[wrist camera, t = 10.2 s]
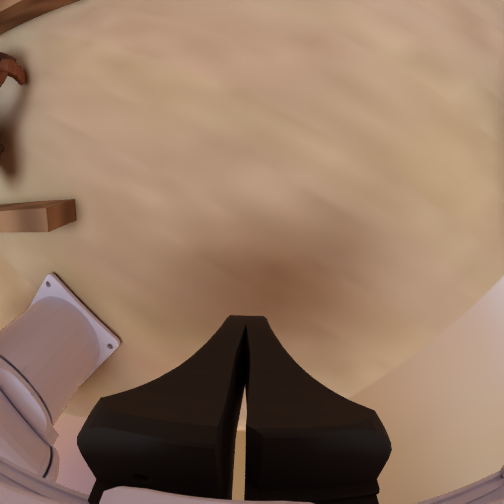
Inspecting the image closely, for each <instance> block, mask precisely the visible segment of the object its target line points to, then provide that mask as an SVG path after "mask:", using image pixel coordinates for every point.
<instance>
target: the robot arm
mask: <svg viewBox="0 0 504 504" xmlns="http://www.w3.org/2000/svg"><path fill="white" fill-rule="evenodd" d="M48 282H49V283H50V285H49V283H48ZM110 344H111V345H112V346H113V347H112V346H110ZM119 345H120V340H119V339H118V337H116V336H115V335H114V334H113V333H112V332H111V331H110V330H109V329H108V328H107V327H106V326H105V325H104V324H102V323H101V322H100V321H99V320H98V319H97V318H96V317H95V316H94V315H93V314H92V313H91V312H90V311H89V310H88V309H87V308H86V307H85V306H84V305H83V304H82V303H81V302H80V301H79V300H78V299H77V298H76V297H75V296H74V295H73V294H72V293H71V291H70V290H69V289H68V288H67V287H66V286H65V285H64V284H63V283H62V282H61V281H60V280H59V279H58V277H57V276H56V275H55V274H54V273H50V274H48V275H47V276H46V278H45V280H44V281H43V283H42V285H41V286H40V288H39V290H38V292H37V293H36V295H35V297H34V299H33V301H32V302H31V304H30V306H29V308H28V309H27V310H26V311H24V312H23V313H22V314H21V315H19V316H18V317H17V318H16V319H14V320H13V321H12V322H11V323H9V324H8V325H7V326H6V327H5V328H3V329H2V330H1V331H0V504H379V503H378V499H377V496H376V494H378V493H379V485H378V482H377V478H378V476H379V474H380V473H381V471H382V469H383V467H384V466H385V464H386V462H387V461H388V459H389V456H390V453H391V451H392V449H391V442H390V440H389V437H388V434H387V432H386V430H385V428H384V426H383V424H382V422H381V421H380V419H379V417H378V415H377V414H376V412H375V411H374V410H372V409H369V408H367V407H364V406H362V405H359V404H357V403H355V402H352V401H350V400H348V399H346V398H344V397H342V396H340V395H339V394H337V393H335V392H333V391H332V390H330V389H328V388H327V387H325V386H324V385H322V384H321V383H319V382H318V381H317V380H315V379H314V378H313V377H311V376H310V375H309V374H308V373H306V372H305V371H304V370H303V369H302V368H301V367H300V366H299V365H298V364H297V363H296V362H295V361H294V360H293V358H292V357H291V356H290V355H289V354H288V353H287V351H286V350H285V349H284V347H283V346H282V345H281V343H280V342H279V340H278V339H277V337H276V336H275V334H274V333H273V331H272V329H271V327H270V325H269V323H268V321H267V319H266V318H265V317H264V316H237V315H230V316H229V317H228V318H227V319H226V320H225V322H224V323H223V324H222V326H221V327H220V328H219V329H218V331H217V332H216V333H215V334H214V335H213V336H212V337H211V338H210V340H209V341H208V342H207V343H206V344H205V345H204V346H203V347H202V348H200V349H199V350H198V351H197V352H196V353H195V354H194V355H193V356H192V357H190V358H189V359H188V360H187V361H185V362H184V363H183V364H181V365H180V366H178V367H177V368H175V369H173V370H172V371H170V372H168V373H166V374H164V375H163V376H161V377H159V378H157V379H155V380H153V381H151V382H149V383H146V384H144V385H142V386H139V387H136V388H134V389H131V390H128V391H125V392H121V393H118V394H114V395H111V396H107V397H103V398H100V400H99V401H98V403H97V404H96V405H95V407H94V408H93V409H92V411H91V413H90V415H89V416H88V418H87V420H86V422H85V423H84V425H83V427H82V429H81V431H80V432H79V434H78V436H77V445H78V447H79V450H80V452H81V454H82V456H83V458H84V459H85V461H86V463H87V464H88V466H89V468H90V469H91V471H92V472H93V474H94V476H95V477H96V482H95V484H94V486H93V489H92V492H91V493H90V496H89V495H86V494H83V493H80V492H78V491H75V490H72V489H70V488H67V487H64V486H62V485H60V484H57V483H55V482H56V479H57V476H58V472H59V454H58V452H57V450H56V449H55V448H54V447H53V444H54V442H55V441H56V439H57V437H58V436H59V435H58V433H57V432H56V431H55V429H54V428H53V426H54V424H55V422H56V421H57V419H58V418H59V416H60V415H61V413H62V412H63V410H64V409H65V407H66V406H67V404H68V403H69V401H70V400H71V398H72V397H73V395H74V394H75V392H76V391H77V389H78V388H79V387H80V386H81V385H82V384H83V383H84V382H85V381H86V379H87V378H88V377H89V376H90V375H91V374H92V373H93V372H94V371H95V370H96V369H97V368H98V367H99V366H100V365H101V364H102V363H103V362H104V361H105V360H106V359H107V358H108V357H109V356H110V355H111V354H112V353H113V352H114V351H115V350H116V349H117V348H118V347H119ZM244 387H245V388H246V403H247V420H246V462H245V463H246V464H245V495H244V496H245V497H244V501H240V500H232V485H233V469H234V454H235V439H236V432H237V426H238V420H239V415H240V410H241V404H242V399H243V393H244ZM415 504H504V465H503V467H502V468H501V470H500V471H498V472H497V473H494V474H492V475H490V476H488V477H486V478H484V479H481V480H479V481H477V482H474V483H472V484H470V485H467V486H465V487H462V488H460V489H457V490H454V491H452V492H449V493H447V494H444V495H441V496H437V497H435V498H432V499H428V500H425V501H422V502H419V503H415Z"/></svg>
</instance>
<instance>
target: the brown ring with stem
mask: <svg viewBox="0 0 504 504" xmlns="http://www.w3.org/2000/svg"><path fill="white" fill-rule="evenodd" d="M7 76H10V77H12V78H14V79H15V80H16V81H17V82H18V83H19V84H20V85H23V84H25V73H24V71H23V70H22V68H21V66H19V65H18V63H17V61H16V59H15V58H13V57H11V56H9V55H7V54H5V53H1V52H0V87H1V86H2V84H3V83H4V81H5V79H6V77H7ZM3 150H4V146H3V145H2V144H0V156H1V154H2V152H3Z"/></svg>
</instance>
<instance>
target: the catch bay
mask: <svg viewBox="0 0 504 504" xmlns="http://www.w3.org/2000/svg"><path fill="white" fill-rule="evenodd" d="M75 1H78V0H0V34H2V33H4V32H6V31H8V30H10V29H12V28H14V27H16V26H18V25H20V24H22V23H24V22H26V21H28V20H30V19H33V18H35V17H37V16H39V15H42V14H44V13H46V12H49V11H51V10H54V9H56V8H59V7H62V6H64V5H67V4H70V3H73V2H75ZM75 220H76V213H75V199H72V200H55V201H40V202H27V203H15V204H4V205H0V232H50V231H52V230H54V229H56V228H59V227H61V226H63V225H66V224H68V223H71V222H73V221H75Z"/></svg>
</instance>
